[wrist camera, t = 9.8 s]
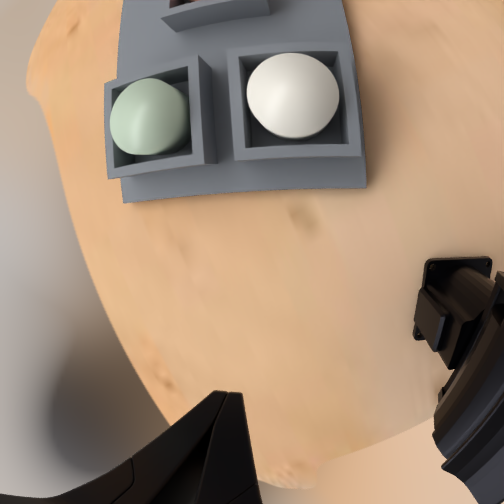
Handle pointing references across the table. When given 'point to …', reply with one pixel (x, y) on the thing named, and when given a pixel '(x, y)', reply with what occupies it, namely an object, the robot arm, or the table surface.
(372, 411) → the table surface
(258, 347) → the table surface
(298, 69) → the button ivory
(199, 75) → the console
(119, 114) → the button sage
